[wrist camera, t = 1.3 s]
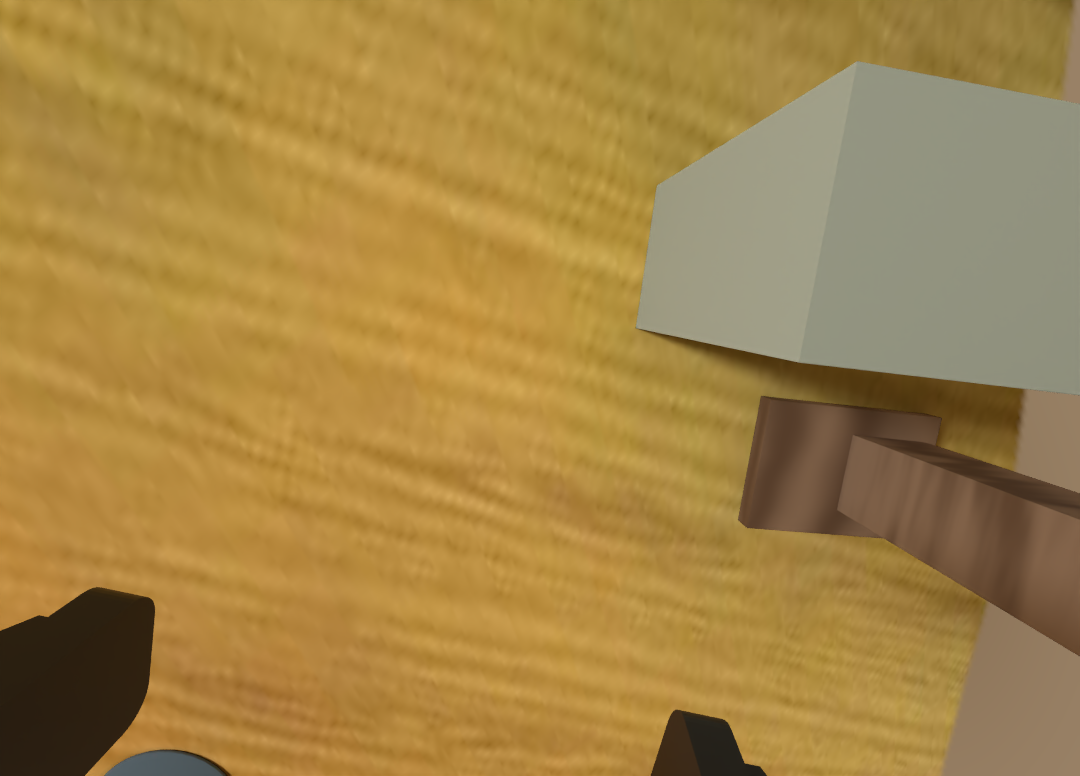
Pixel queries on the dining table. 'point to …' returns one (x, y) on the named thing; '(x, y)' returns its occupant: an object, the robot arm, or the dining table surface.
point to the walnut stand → (919, 504)
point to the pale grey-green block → (883, 234)
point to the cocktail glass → (165, 765)
